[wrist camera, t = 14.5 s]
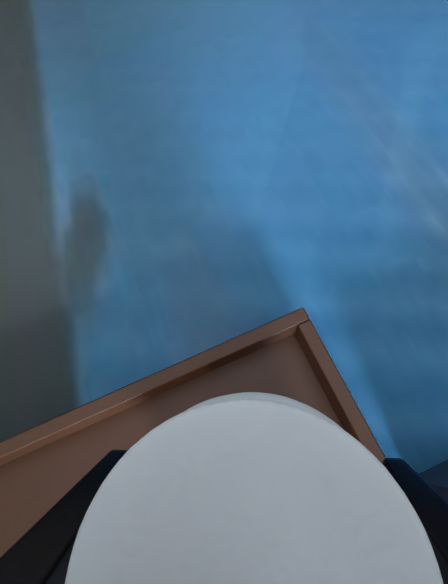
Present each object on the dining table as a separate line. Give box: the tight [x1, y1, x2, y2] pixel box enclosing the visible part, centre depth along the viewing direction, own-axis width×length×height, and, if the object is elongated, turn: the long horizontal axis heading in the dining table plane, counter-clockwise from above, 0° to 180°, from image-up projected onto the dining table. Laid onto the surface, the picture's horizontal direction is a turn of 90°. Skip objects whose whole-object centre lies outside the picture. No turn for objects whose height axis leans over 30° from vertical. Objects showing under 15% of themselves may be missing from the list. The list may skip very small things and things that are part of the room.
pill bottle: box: [65, 392, 443, 584], centre depth 10 cm, size 6×6×11 cm
